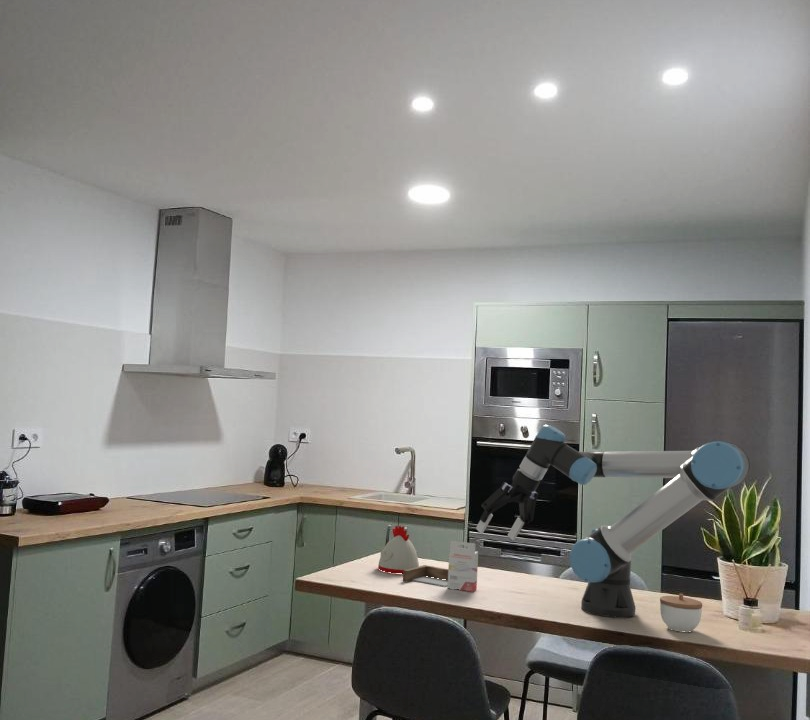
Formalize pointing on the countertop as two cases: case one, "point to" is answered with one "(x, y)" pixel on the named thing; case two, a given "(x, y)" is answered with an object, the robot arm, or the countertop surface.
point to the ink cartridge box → (462, 566)
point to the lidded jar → (680, 612)
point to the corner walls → (424, 573)
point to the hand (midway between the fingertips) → (495, 534)
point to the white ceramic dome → (398, 553)
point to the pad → (432, 581)
